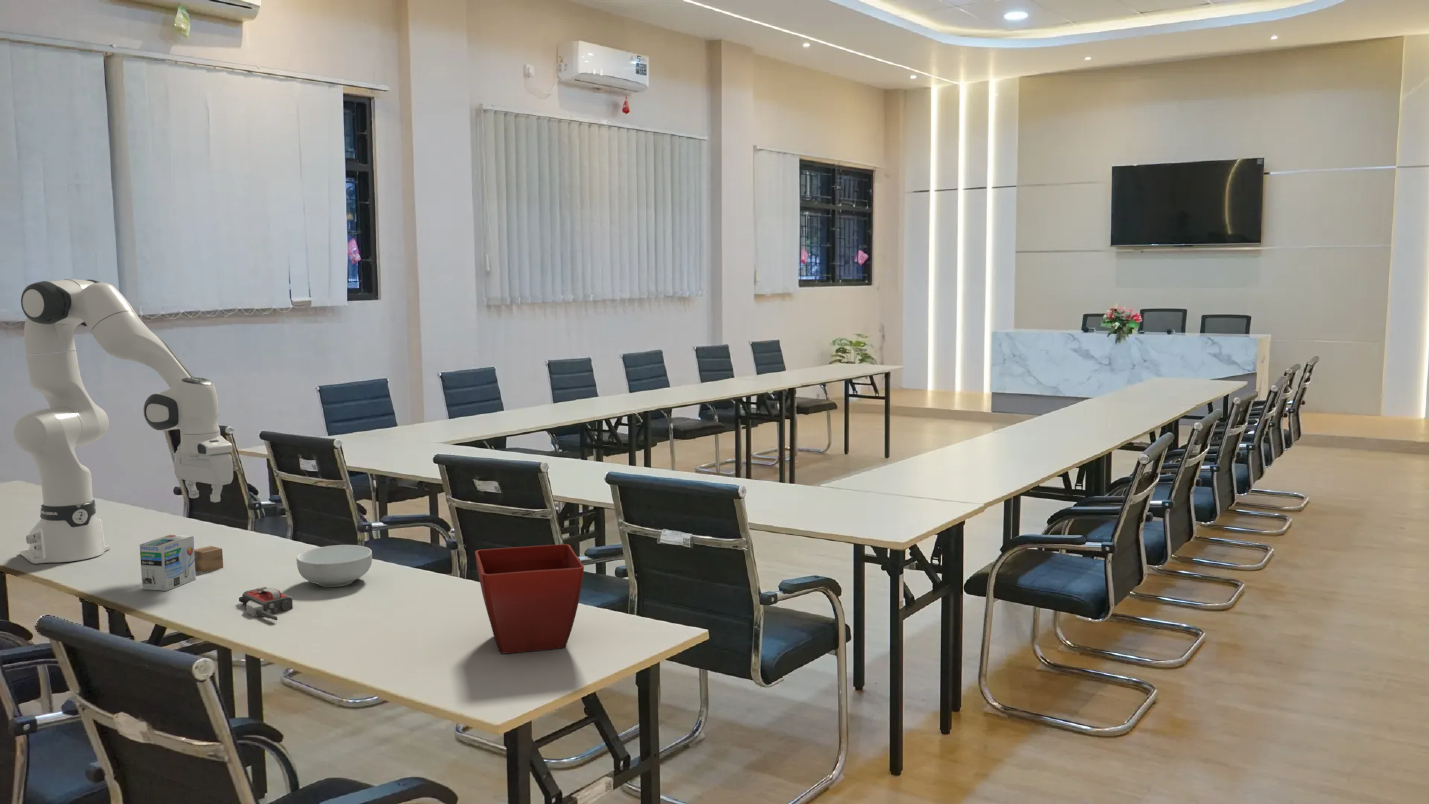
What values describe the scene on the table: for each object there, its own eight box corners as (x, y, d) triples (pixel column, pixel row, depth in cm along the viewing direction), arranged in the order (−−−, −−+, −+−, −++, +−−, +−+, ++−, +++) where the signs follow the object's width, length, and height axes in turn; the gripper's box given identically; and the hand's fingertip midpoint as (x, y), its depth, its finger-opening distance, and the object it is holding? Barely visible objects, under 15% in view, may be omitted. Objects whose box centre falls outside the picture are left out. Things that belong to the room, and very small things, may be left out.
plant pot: (586, 652, 207) (585, 566, 205) (484, 662, 202) (482, 574, 200) (570, 622, 225) (569, 543, 224) (476, 631, 220) (474, 550, 218)
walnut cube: (192, 569, 268) (191, 549, 268) (212, 565, 272) (210, 545, 272) (204, 572, 265) (202, 552, 265) (223, 568, 270) (222, 548, 269)
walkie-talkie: (229, 607, 238) (271, 626, 225) (228, 587, 238) (270, 605, 224) (268, 598, 245) (311, 616, 231) (267, 579, 244) (310, 596, 231)
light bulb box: (166, 591, 249) (163, 545, 248) (140, 590, 250) (137, 544, 249) (197, 579, 259) (194, 535, 258) (172, 577, 261) (169, 533, 260)
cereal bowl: (281, 587, 252) (280, 557, 252) (335, 570, 267) (333, 542, 266) (336, 596, 245) (335, 565, 244) (388, 577, 260) (387, 549, 259)
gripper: (165, 442, 269) (169, 497, 270) (211, 448, 257) (215, 506, 259) (190, 439, 274) (193, 493, 275) (236, 445, 262) (240, 501, 264)
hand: (204, 499), depth 267 cm, fingers open, 8 cm apart
